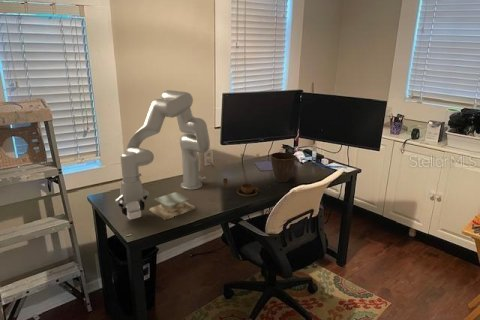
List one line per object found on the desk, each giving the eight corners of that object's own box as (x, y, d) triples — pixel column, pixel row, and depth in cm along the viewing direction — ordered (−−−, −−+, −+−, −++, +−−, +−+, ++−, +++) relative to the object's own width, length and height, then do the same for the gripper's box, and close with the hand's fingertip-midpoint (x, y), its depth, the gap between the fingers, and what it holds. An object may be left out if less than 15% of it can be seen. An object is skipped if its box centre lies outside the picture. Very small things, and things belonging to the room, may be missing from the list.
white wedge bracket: (117, 214, 173) (125, 198, 173) (136, 219, 179) (143, 203, 179) (120, 217, 170) (128, 200, 170) (138, 222, 176) (146, 205, 177)
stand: (179, 200, 195) (178, 190, 193) (195, 208, 185) (194, 198, 183) (149, 210, 183) (148, 199, 181) (164, 220, 173) (164, 208, 171)
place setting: (239, 200, 197) (239, 190, 195) (221, 188, 213) (221, 179, 211) (265, 194, 206) (265, 184, 204) (246, 182, 222) (246, 173, 220)
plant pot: (264, 179, 226) (265, 154, 221) (282, 174, 235) (283, 150, 229) (281, 186, 215) (282, 161, 210) (298, 181, 223) (300, 156, 218)
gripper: (143, 172, 178) (145, 204, 184) (109, 180, 167) (113, 214, 172) (151, 176, 173) (153, 208, 179) (117, 185, 162) (120, 220, 167)
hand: (133, 211), depth 175 cm, fingers open, 8 cm apart
